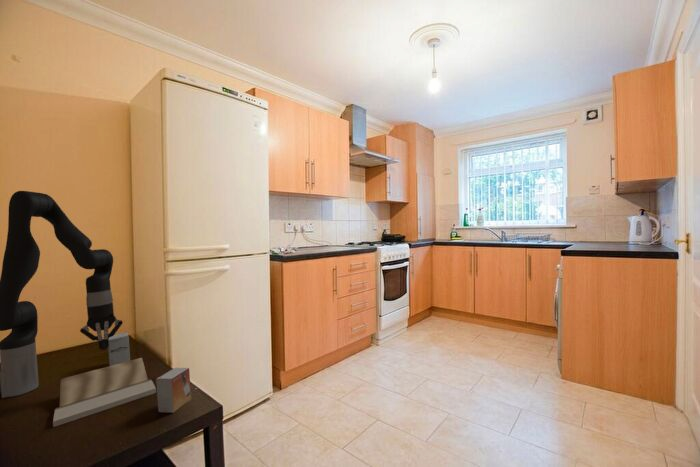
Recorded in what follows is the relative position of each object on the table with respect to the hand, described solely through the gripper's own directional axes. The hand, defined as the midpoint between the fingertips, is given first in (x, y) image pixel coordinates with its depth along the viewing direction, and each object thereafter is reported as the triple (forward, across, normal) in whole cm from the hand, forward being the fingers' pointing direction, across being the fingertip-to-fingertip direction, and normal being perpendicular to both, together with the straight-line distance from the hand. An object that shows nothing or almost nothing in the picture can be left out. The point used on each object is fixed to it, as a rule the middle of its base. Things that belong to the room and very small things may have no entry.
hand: (104, 349), depth 116 cm
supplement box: (+14, -6, -24) cm, 28 cm away
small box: (+15, -15, +36) cm, 41 cm away
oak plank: (+11, +1, +3) cm, 12 cm away
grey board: (+14, +1, +16) cm, 21 cm away
